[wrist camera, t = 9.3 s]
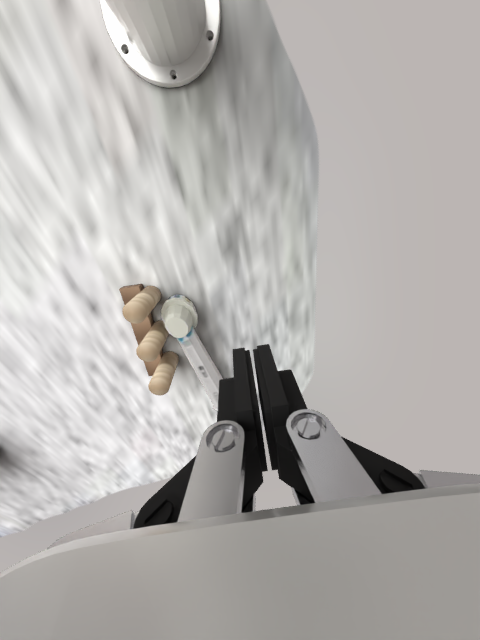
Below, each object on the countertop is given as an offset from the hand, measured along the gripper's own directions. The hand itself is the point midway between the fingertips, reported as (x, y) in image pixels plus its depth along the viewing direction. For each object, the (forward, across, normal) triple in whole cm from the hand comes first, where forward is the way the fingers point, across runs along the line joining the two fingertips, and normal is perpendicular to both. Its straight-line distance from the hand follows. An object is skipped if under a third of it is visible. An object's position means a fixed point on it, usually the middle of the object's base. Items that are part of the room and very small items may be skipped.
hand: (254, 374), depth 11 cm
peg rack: (+29, +15, +9) cm, 34 cm away
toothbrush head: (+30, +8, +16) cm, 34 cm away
